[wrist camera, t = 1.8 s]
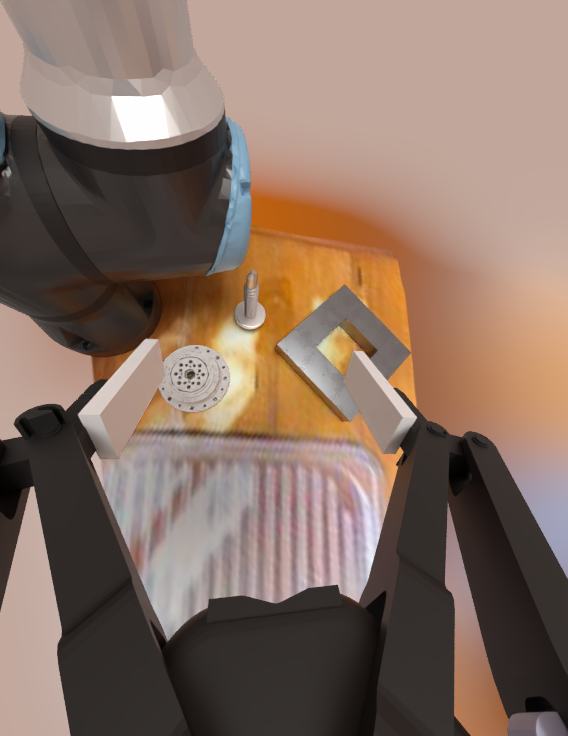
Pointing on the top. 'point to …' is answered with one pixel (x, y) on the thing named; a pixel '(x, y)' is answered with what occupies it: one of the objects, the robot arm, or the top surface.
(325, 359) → the socket plate
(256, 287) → the screw
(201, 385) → the mechanical component
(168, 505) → the top surface
